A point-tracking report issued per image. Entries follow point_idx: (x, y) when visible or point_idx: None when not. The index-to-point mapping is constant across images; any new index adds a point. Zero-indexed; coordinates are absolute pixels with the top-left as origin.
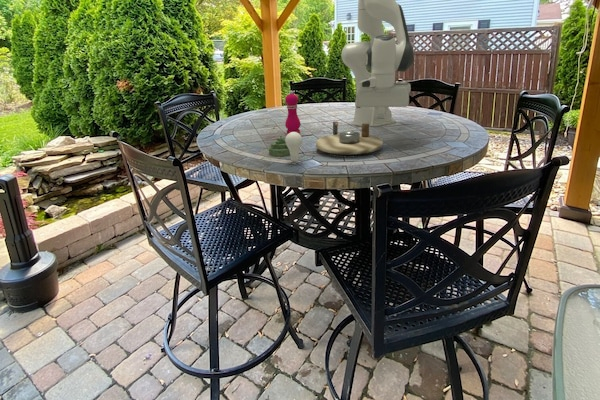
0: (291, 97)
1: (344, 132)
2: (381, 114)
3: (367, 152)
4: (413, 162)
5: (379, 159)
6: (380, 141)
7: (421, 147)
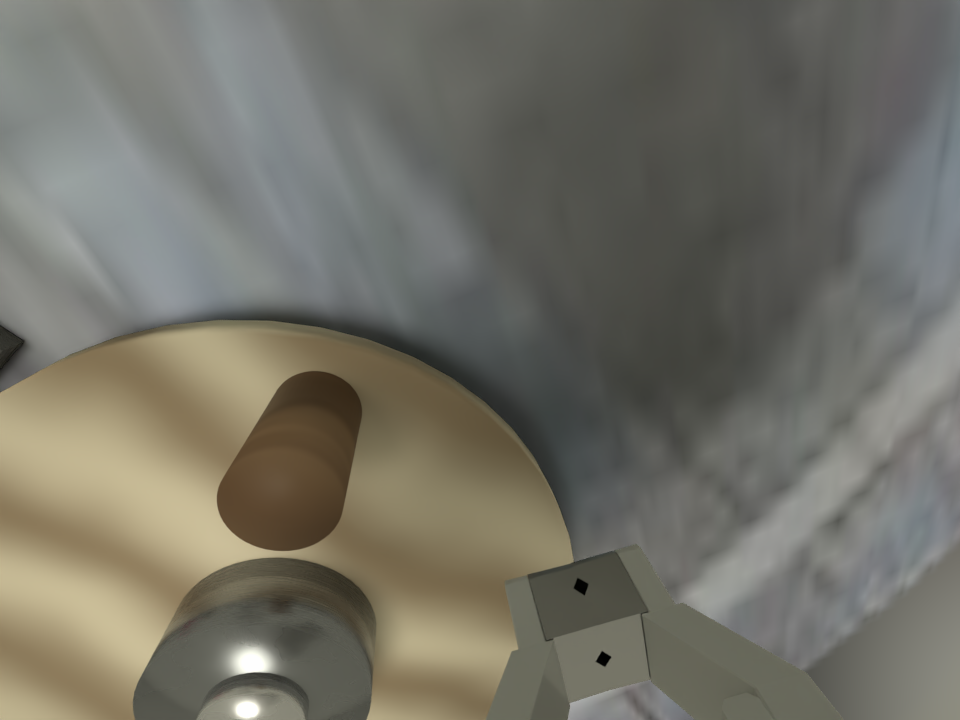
0: None
1: (161, 685)
2: (612, 685)
3: None
4: (774, 618)
5: None
6: (547, 530)
7: (840, 288)
